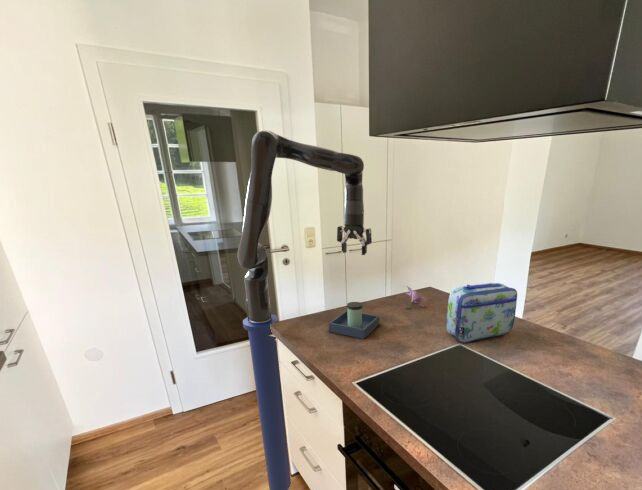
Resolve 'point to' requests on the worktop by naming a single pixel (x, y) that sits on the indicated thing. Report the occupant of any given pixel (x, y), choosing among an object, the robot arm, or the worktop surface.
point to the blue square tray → (342, 327)
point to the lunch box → (481, 311)
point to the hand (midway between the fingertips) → (354, 253)
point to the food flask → (354, 314)
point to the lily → (415, 297)
